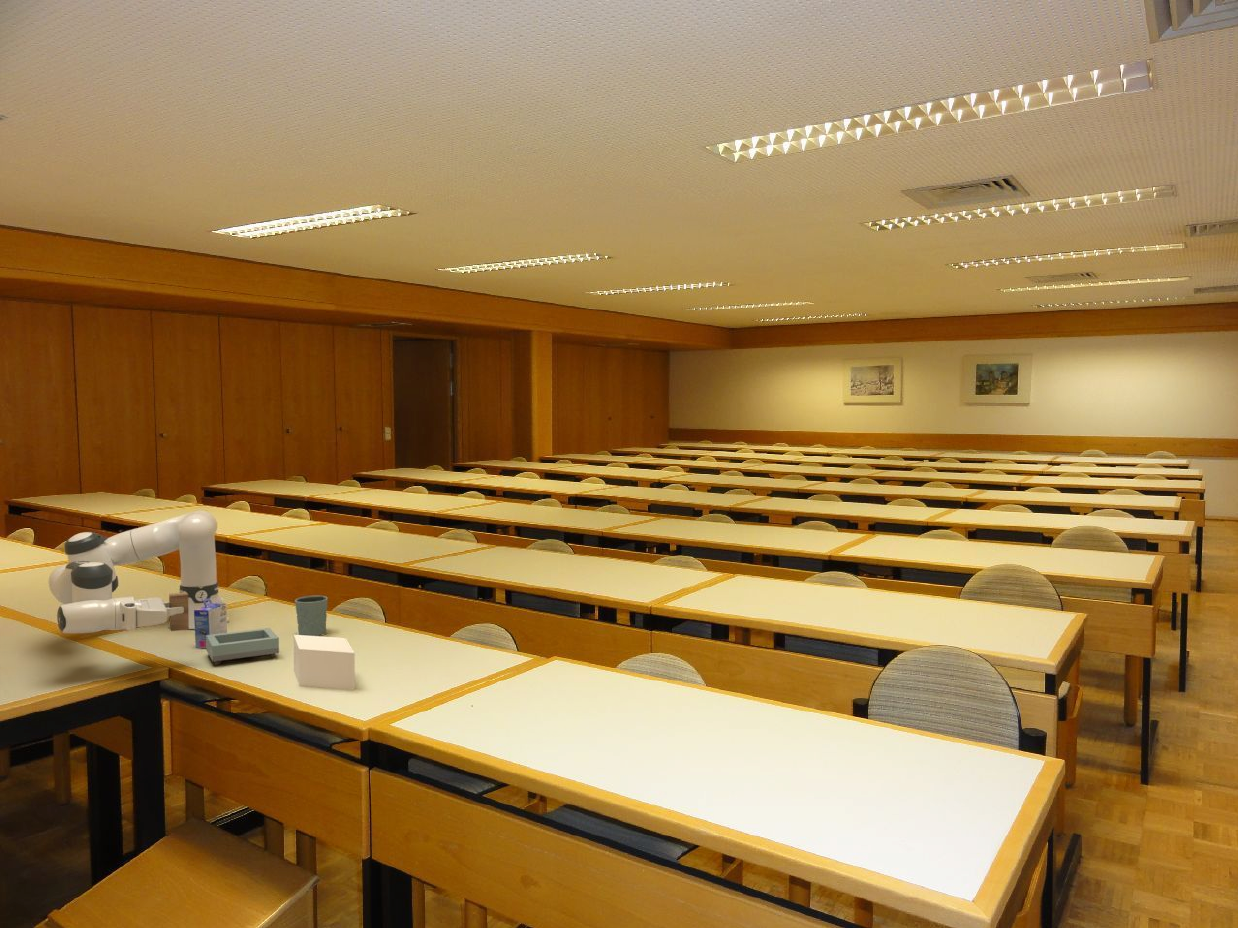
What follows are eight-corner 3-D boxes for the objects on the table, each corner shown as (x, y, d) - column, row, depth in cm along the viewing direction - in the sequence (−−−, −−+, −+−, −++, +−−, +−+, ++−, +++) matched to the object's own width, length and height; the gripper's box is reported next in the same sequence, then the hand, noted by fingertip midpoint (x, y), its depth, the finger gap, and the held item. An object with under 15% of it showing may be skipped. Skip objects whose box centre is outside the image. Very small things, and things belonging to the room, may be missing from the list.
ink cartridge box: (212, 639, 271) (211, 595, 270) (228, 640, 270) (227, 596, 270) (193, 648, 261) (193, 602, 260) (210, 648, 261) (209, 602, 260)
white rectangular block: (330, 697, 218) (330, 658, 217) (270, 675, 235) (270, 639, 235) (377, 684, 229) (377, 647, 229) (316, 664, 247) (316, 629, 246)
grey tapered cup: (334, 632, 282) (334, 597, 281) (310, 639, 273) (310, 603, 272) (312, 628, 287) (312, 594, 286) (288, 635, 278) (288, 599, 277)
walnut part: (169, 627, 243) (169, 593, 243) (186, 625, 246) (186, 592, 245) (171, 631, 239) (170, 596, 239) (188, 629, 242) (188, 595, 241)
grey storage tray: (206, 655, 253) (206, 635, 253) (269, 646, 263) (269, 627, 263) (212, 667, 242) (212, 646, 241) (278, 658, 251) (278, 637, 251)
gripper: (125, 616, 244) (178, 611, 251) (129, 631, 227) (186, 625, 234) (125, 594, 244) (178, 590, 251) (128, 608, 226) (186, 603, 234)
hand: (182, 607), depth 243 cm, fingers closed on walnut part, 4 cm apart
